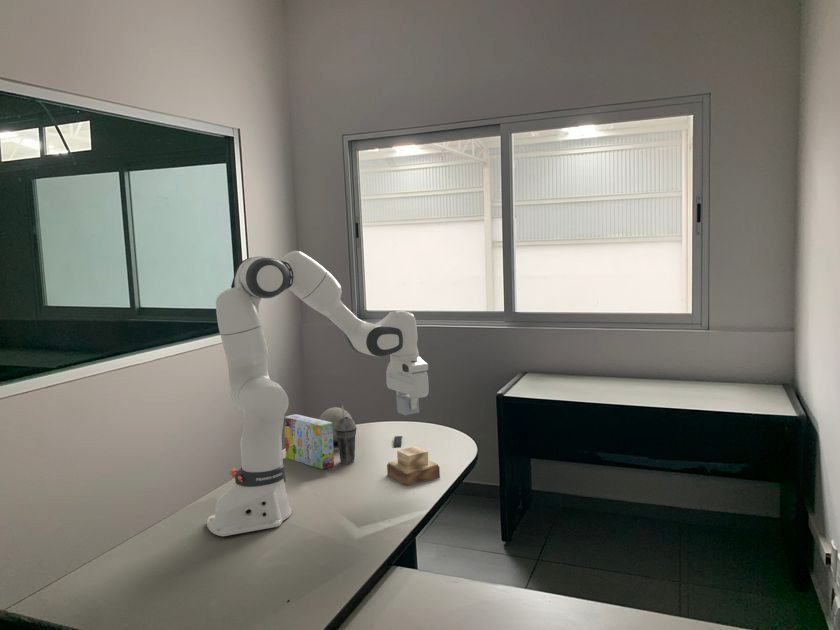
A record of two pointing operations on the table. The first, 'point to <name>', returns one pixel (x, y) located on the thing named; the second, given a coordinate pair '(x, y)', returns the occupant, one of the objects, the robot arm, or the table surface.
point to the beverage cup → (346, 439)
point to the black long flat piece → (397, 442)
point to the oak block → (412, 457)
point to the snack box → (309, 441)
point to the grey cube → (405, 405)
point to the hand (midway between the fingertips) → (407, 407)
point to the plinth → (413, 472)
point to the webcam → (334, 421)
